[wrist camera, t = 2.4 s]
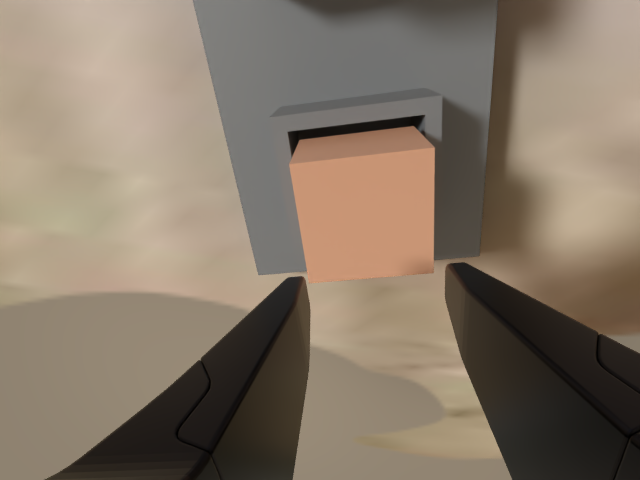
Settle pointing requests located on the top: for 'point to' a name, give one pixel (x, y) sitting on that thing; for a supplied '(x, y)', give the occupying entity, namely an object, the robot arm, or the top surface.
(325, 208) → the orange cube
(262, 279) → the top surface
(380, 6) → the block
